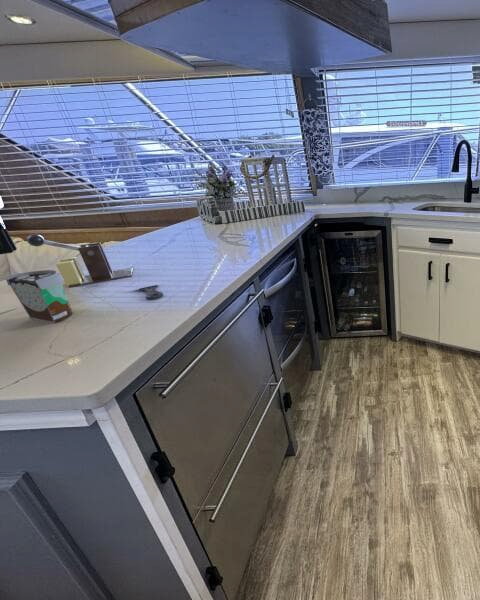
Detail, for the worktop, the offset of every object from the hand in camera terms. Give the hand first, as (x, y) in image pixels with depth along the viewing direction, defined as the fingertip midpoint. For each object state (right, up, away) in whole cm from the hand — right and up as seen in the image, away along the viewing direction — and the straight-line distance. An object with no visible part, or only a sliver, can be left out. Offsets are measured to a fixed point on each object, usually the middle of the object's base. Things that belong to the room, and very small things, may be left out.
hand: (2, 252), depth 58 cm
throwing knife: (+4, -6, +29) cm, 30 cm away
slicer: (-17, -3, +38) cm, 42 cm away
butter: (-22, -3, +35) cm, 41 cm away
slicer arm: (-22, +5, +31) cm, 39 cm away
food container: (-6, -12, +16) cm, 21 cm away
